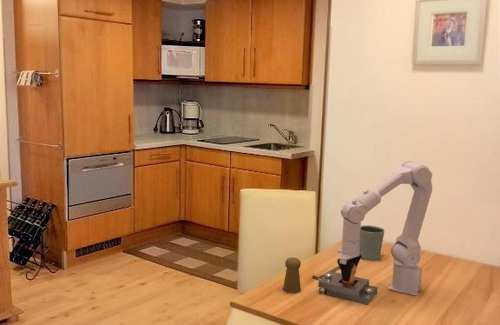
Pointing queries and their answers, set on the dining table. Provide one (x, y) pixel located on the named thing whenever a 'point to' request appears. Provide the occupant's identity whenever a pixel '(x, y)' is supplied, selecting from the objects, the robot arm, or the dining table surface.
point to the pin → (351, 277)
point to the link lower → (363, 298)
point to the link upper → (335, 283)
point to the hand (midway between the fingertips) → (348, 278)
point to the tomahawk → (325, 273)
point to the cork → (292, 276)
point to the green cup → (371, 242)
